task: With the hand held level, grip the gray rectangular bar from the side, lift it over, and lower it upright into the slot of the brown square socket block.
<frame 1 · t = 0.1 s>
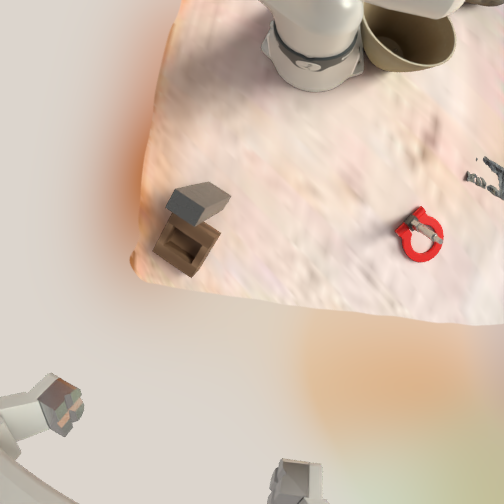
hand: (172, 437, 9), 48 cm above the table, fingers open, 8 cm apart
driftwood: (501, 181, 46), on the table
brown square socket block: (190, 239, 59), on the table
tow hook: (420, 236, 52), on the table
gray rectangular bar: (215, 195, 55), on the table
plant pot: (384, 54, 43), on the table
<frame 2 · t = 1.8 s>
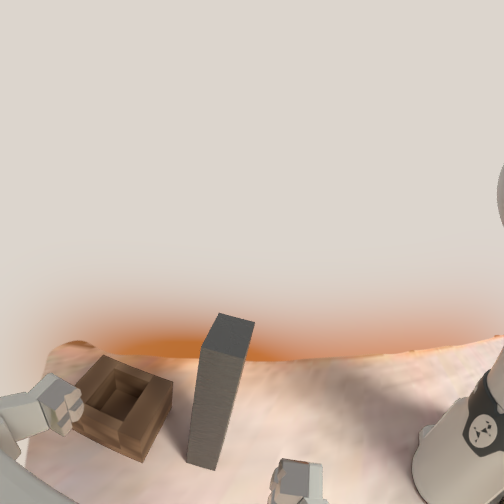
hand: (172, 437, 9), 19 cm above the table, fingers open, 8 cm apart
brown square socket block: (121, 418, 28), on the table
gray rectangular bar: (206, 449, 27), on the table
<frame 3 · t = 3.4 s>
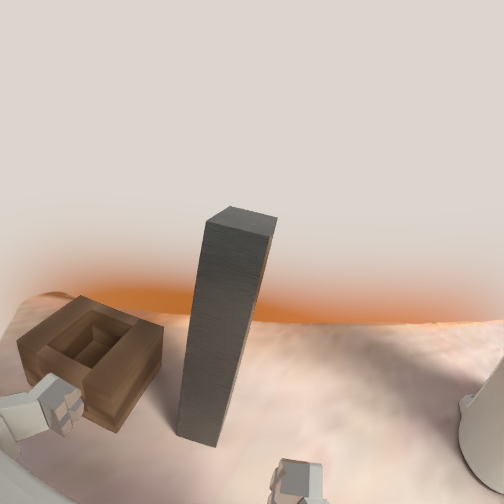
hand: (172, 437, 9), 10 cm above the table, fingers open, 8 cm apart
brown square socket block: (95, 376, 22), on the table
gray rectangular bar: (204, 419, 21), on the table
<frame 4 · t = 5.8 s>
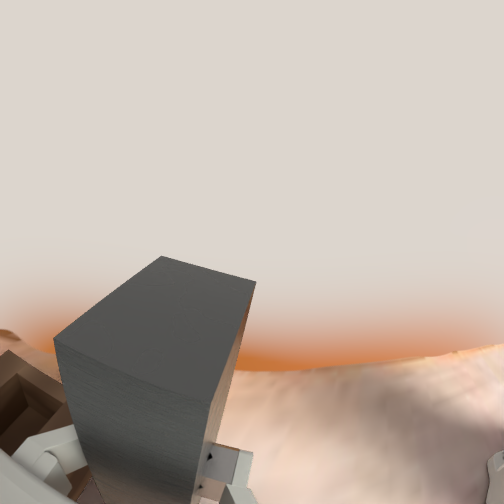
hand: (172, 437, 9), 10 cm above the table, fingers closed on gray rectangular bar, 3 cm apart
brown square socket block: (30, 455, 12), on the table
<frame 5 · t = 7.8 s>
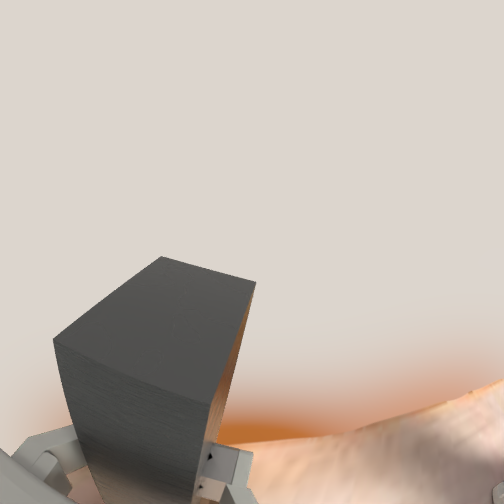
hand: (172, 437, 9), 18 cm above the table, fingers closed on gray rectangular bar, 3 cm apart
when the fingers open (12 cm above the table, at t = 10.2 s): gray rectangular bar drops 1 cm, resting on brown square socket block.
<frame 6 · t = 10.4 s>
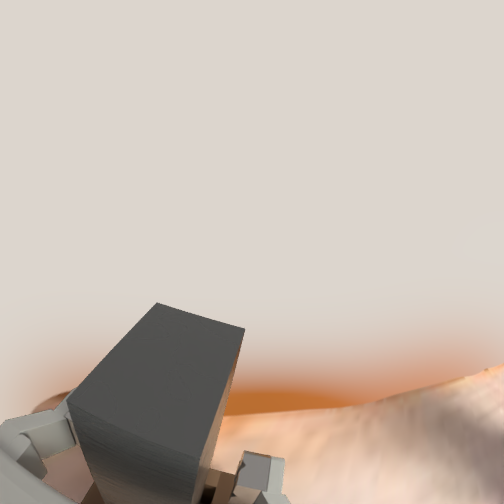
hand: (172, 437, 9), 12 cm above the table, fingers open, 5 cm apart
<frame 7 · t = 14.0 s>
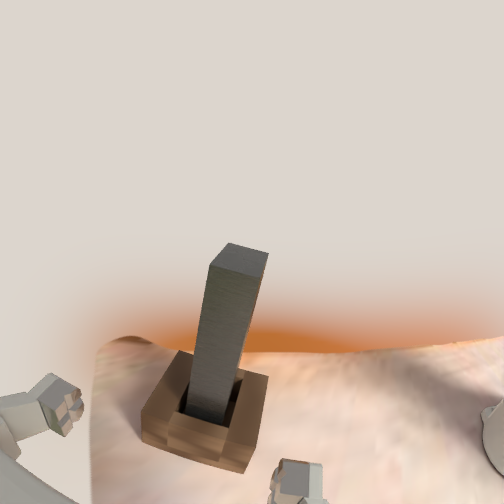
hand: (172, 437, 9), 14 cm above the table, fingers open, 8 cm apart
brown square socket block: (204, 424, 25), on the table
gray rectangular bar: (206, 418, 25), point 1 cm above the table, touching brown square socket block
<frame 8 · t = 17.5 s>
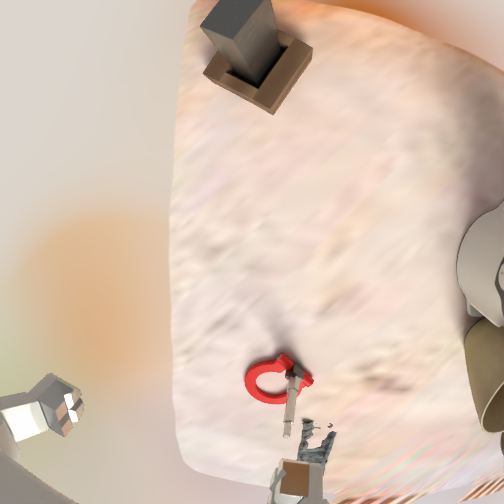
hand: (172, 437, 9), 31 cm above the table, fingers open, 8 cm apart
driftwood: (316, 449, 50), on the table
brown square socket block: (261, 69, 33), on the table
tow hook: (276, 379, 45), on the table
gray rectangular bar: (260, 67, 32), point 1 cm above the table, touching brown square socket block
plant pot: (479, 336, 38), on the table
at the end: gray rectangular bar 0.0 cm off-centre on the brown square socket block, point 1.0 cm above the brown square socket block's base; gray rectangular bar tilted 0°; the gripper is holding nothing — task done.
